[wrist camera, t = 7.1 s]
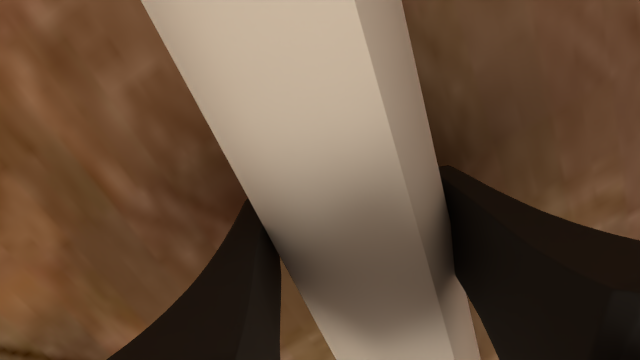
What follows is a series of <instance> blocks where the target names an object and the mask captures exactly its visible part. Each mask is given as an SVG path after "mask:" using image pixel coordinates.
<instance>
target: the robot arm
mask: <svg viewBox="0 0 640 360" xmlns="http://www.w3.org/2000/svg"><path fill="white" fill-rule="evenodd" d="M438 168H439V173H440V177H441V182H442V186H443V191H444V195H445V200H446V205H447V209H448V214H449V218H450V223H451V235H452V247H453V259H454V271H455V276H456V278H457V279H458V281H459V282H460V284H461V286H462V287H463V289H464V291H465V292H466V294H467V296H468V297H469V299H470V301H471V302H472V304H473V306H474V307H475V309H476V311H477V313H478V315H479V317H480V318H481V321H482V323H483V325H484V327H485V329H486V331H487V333H488V335H489V338H490V340H491V342H492V344H493V346H494V348H495V351H496V353H497V355H498V357H499V360H640V241H639V240H635V239H630V238H626V237H622V236H618V235H614V234H610V233H607V232H603V231H600V230H596V229H593V228H589V227H586V226H583V225H580V224H577V223H573V222H570V221H568V220H565V219H562V218H559V217H557V216H554V215H551V214H548V213H546V212H543V211H541V210H538V209H536V208H534V207H531V206H529V205H527V204H525V203H522V202H520V201H518V200H516V199H514V198H511V197H509V196H507V195H505V194H503V193H501V192H499V191H497V190H495V189H493V188H491V187H489V186H488V185H486V184H484V183H482V182H480V181H478V180H476V179H474V178H472V177H471V176H469V175H467V174H465V173H463V172H461V171H459V170H457V169H455V168H453V167H451V166H443V167H438ZM280 308H281V267H280V257H279V253H278V252H277V250H276V248H275V246H274V244H273V242H272V241H271V239H270V237H269V235H268V233H267V231H266V230H265V228H264V226H263V224H262V222H261V220H260V219H259V217H258V215H257V213H256V211H255V209H254V208H253V206H252V204H251V202H250V200H249V199H247V200H246V201H245V202H244V204H243V206H242V208H241V210H240V212H239V214H238V216H237V218H236V220H235V222H234V224H233V226H232V227H231V229H230V231H229V232H228V234H227V236H226V238H225V239H224V241H223V243H222V244H221V246H220V247H219V249H218V250H217V252H216V253H215V254H214V256H213V257H212V259H211V260H210V262H209V263H208V265H207V266H206V267H205V269H204V270H203V271H202V273H201V274H200V275H199V276H198V278H197V279H196V280H195V281H194V282H193V284H192V285H191V286H190V287H189V288H188V289H187V290H186V291H185V292H184V293H183V295H182V296H181V297H180V298H179V299H178V300H177V301H176V302H175V303H174V304H173V305H172V306H171V307H170V308H169V309H168V310H167V311H166V312H165V313H164V314H162V315H161V316H160V317H159V318H158V319H157V320H156V321H155V322H154V323H152V324H151V325H150V326H149V327H148V328H147V329H145V330H144V331H143V332H142V333H141V334H139V335H138V336H137V337H136V338H135V339H133V340H132V341H131V342H130V343H128V344H127V345H126V346H124V347H123V348H122V349H120V350H119V351H118V352H116V353H115V354H113V355H112V356H111V357H109V358H108V359H107V360H280Z"/></svg>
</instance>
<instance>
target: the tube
mask: <svg viewBox="0 0 640 360" xmlns="http://www.w3.org/2000/svg"><path fill="white" fill-rule="evenodd" d="M141 1H142V3H143V5H144V7H145V9H146V11H147V13H148V14H149V16H150V18H151V20H152V22H153V24H154V25H155V27H156V29H157V31H158V33H159V35H160V36H161V38H162V40H163V42H164V44H165V46H166V47H167V49H168V51H169V53H170V55H171V57H172V59H173V60H174V62H175V64H176V66H177V68H178V70H179V71H180V73H181V75H182V77H183V79H184V81H185V82H186V84H187V86H188V88H189V90H190V92H191V93H192V95H193V97H194V99H195V101H196V103H197V104H198V106H199V108H200V110H201V112H202V114H203V116H204V117H205V119H206V121H207V123H208V125H209V127H210V128H211V130H212V132H213V134H214V136H215V138H216V139H217V141H218V143H219V145H220V147H221V149H222V150H223V152H224V154H225V156H226V158H227V160H228V162H229V163H230V165H231V167H232V169H233V171H234V173H235V174H236V176H237V178H238V180H239V182H240V184H241V185H242V187H243V189H244V191H245V193H246V195H247V196H248V198H249V200H250V202H251V204H252V206H253V208H254V209H255V211H256V213H257V215H258V217H259V219H260V220H261V222H262V224H263V226H264V228H265V230H266V231H267V233H268V235H269V237H270V239H271V241H272V242H273V244H274V246H275V248H276V250H277V252H278V253H279V255H280V257H281V259H282V261H283V263H284V265H285V266H286V268H287V270H288V272H289V274H290V276H291V277H292V279H293V281H294V283H295V285H296V287H297V288H298V290H299V292H300V294H301V296H302V298H303V299H304V301H305V303H306V305H307V307H308V309H309V311H310V312H311V314H312V316H313V318H314V320H315V322H316V323H317V325H318V327H319V329H320V331H321V333H322V334H323V336H324V338H325V340H326V342H327V344H328V345H329V347H330V349H331V351H332V353H333V355H334V356H335V358H336V360H481V358H480V354H479V349H478V345H477V340H476V336H475V331H474V327H473V322H472V318H471V313H470V309H469V304H468V300H467V295H466V292H465V291H464V289H463V287H462V286H461V284H460V282H459V281H458V279H457V278H456V276H455V271H454V259H453V247H452V235H451V223H450V218H449V214H448V209H447V205H446V200H445V195H444V191H443V186H442V182H441V177H440V173H439V168H438V164H437V159H436V155H435V150H434V146H433V141H432V137H431V132H430V128H429V123H428V118H427V114H426V109H425V105H424V100H423V96H422V91H421V87H420V82H419V78H418V73H417V69H416V64H415V60H414V55H413V51H412V46H411V42H410V37H409V32H408V28H407V23H406V19H405V14H404V10H403V5H402V1H401V0H141Z"/></svg>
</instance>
